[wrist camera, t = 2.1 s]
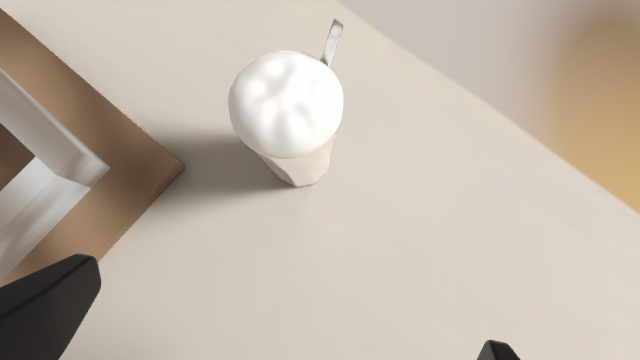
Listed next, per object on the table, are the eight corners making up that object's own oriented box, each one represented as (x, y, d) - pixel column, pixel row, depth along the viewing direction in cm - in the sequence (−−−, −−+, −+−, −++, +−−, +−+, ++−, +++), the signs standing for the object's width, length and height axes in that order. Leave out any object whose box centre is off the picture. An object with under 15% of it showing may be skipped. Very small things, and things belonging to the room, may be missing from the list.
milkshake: (366, 148, 24) (386, 60, 14) (302, 214, 23) (278, 167, 14) (310, 100, 25) (294, -15, 15) (247, 161, 24) (188, 82, 15)
